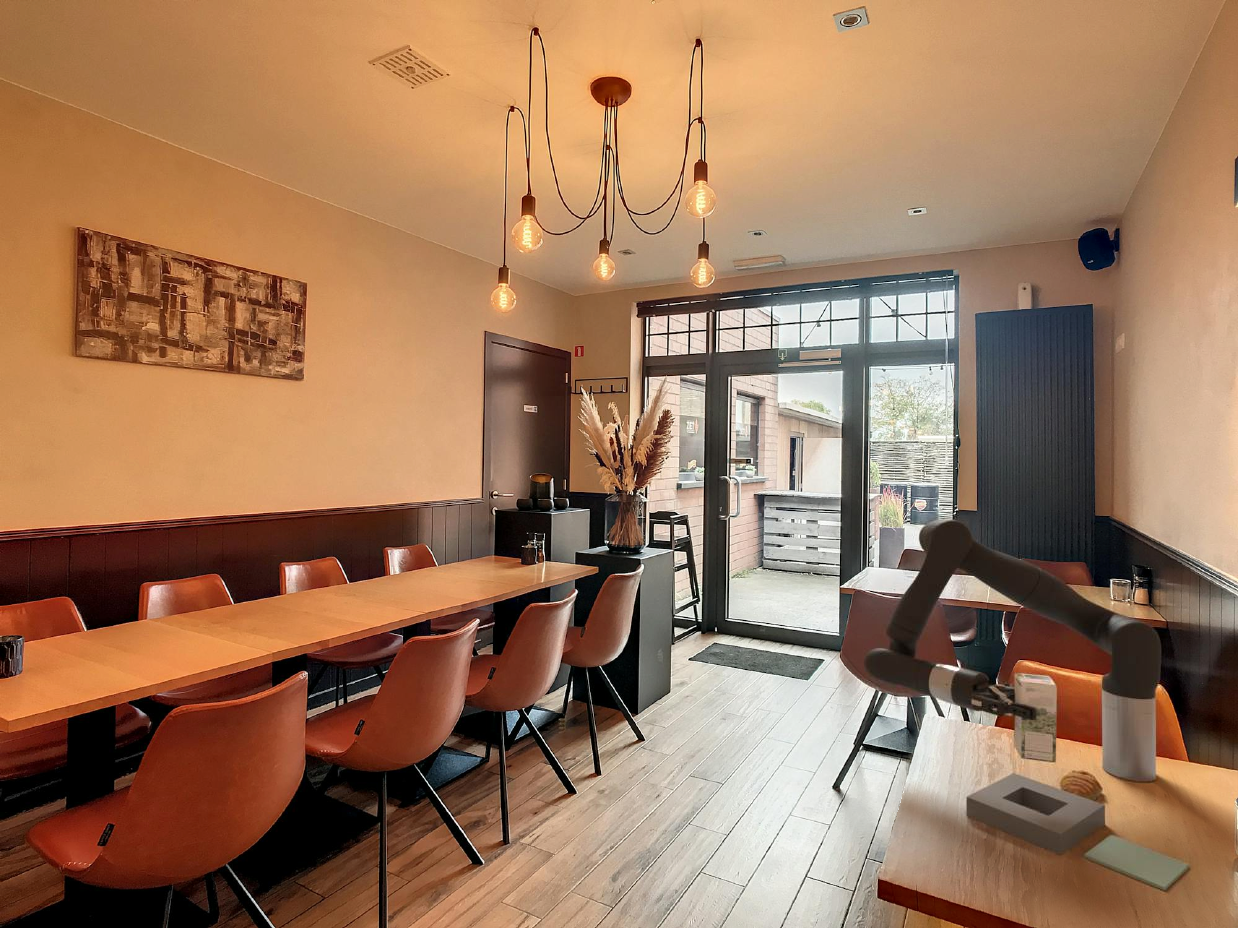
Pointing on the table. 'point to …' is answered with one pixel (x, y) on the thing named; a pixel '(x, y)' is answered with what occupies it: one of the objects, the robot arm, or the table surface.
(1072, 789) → the pastry
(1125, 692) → the robot arm
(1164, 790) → the table surface
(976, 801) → the socket block
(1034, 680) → the syrup box
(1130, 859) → the sage mat
